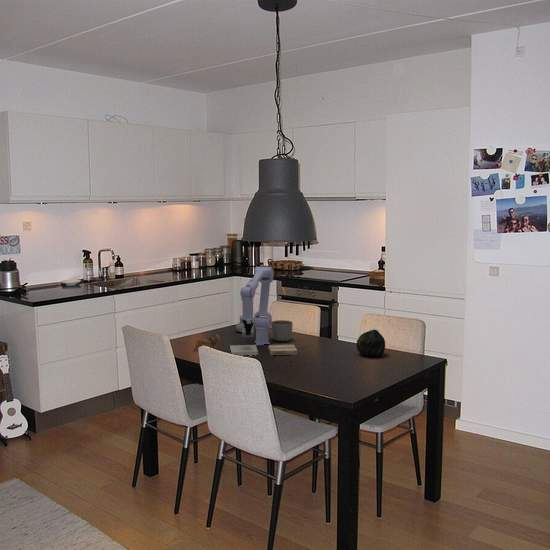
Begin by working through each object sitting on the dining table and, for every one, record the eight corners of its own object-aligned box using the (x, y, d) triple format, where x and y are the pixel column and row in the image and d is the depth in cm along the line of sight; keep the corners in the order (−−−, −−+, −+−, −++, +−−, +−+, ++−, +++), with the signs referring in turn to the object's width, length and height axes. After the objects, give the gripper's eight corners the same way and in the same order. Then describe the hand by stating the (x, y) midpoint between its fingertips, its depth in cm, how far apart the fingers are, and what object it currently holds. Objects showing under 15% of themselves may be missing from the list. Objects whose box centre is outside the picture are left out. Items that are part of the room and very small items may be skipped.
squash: (353, 340, 331) (358, 324, 320) (380, 341, 332) (386, 325, 321) (356, 362, 322) (361, 347, 310) (384, 363, 323) (390, 347, 311)
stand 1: (230, 350, 332) (230, 345, 332) (255, 349, 334) (255, 344, 334) (231, 356, 318) (231, 352, 318) (257, 356, 320) (257, 351, 320)
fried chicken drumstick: (219, 349, 334) (219, 333, 333) (220, 351, 329) (220, 335, 328) (192, 350, 332) (192, 334, 331) (192, 352, 327) (192, 336, 326)
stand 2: (268, 349, 334) (268, 344, 333) (293, 348, 335) (293, 344, 335) (271, 356, 320) (271, 351, 320) (297, 355, 322) (297, 350, 321)
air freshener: (241, 334, 369) (241, 318, 368) (233, 332, 375) (233, 316, 374) (255, 331, 376) (255, 316, 375) (247, 329, 382) (247, 313, 381)
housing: (242, 335, 327) (242, 326, 326) (253, 335, 328) (253, 326, 327) (242, 337, 323) (242, 328, 322) (253, 337, 323) (253, 327, 323)
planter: (266, 340, 354) (266, 322, 353) (282, 337, 362) (282, 319, 361) (281, 344, 345) (281, 325, 343) (296, 340, 353) (296, 322, 352)
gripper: (239, 306, 330) (239, 331, 332) (241, 311, 316) (241, 337, 317) (252, 306, 331) (252, 330, 332) (254, 311, 316) (254, 337, 318)
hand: (247, 334), depth 325 cm, fingers closed on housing, 4 cm apart
